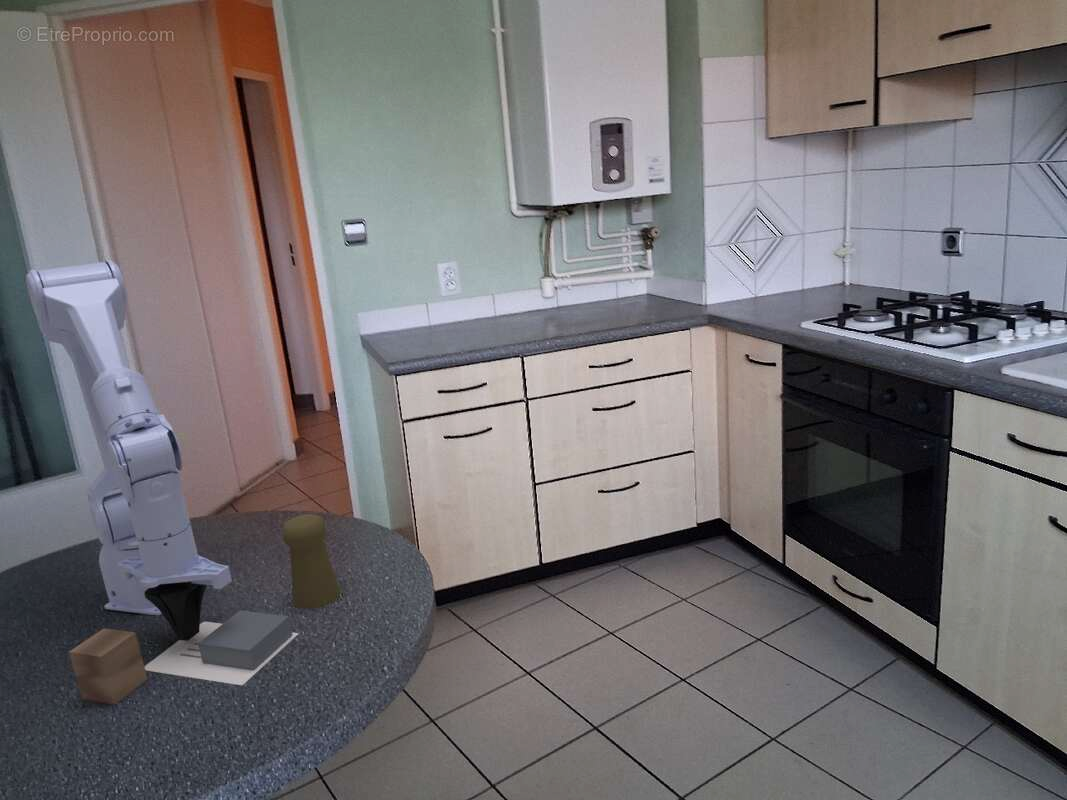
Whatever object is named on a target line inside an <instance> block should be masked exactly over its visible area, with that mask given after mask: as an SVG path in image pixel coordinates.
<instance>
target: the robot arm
mask: <svg viewBox="0 0 1067 800" xmlns="http://www.w3.org/2000/svg"><path fill="white" fill-rule="evenodd" d="M25 280H26V287H27V292H28V295H29V300H30V302H31V305H32V309H33V311H34V314H35V317H36V320H37V324H38V327H39V330H40V333H41V334H43V335H44V336H43V337H44V339H45V341H47V342H52V343H55V344H60V345H62V346H63V348H64V349H65V351H66V353H67V354H68V356H69V357H70V359H71V361H72V364H73V367H74V370H75V374H76V377H77V380H78V384H79V387H80V391H81V394H82V397H83V401H84V403H85V408H86V411H87V413H88V417H89V420H90V424H91V427H92V429H93V434H94V437H95V440H96V443H97V446H98V450H99V453H100V456H101V459H102V462H103V467H104V469H103V471H101V473H100V474H99V475H98V476H97V477H96V478H95V479H94V481H92V482H91V484H90V486H89V487H88V492H87V499H88V503H89V507H90V508H89V509H90V514H91V519H92V522H93V525H94V529H95V531H96V534H97V537H98V539H99V541H100V543H101V544H102V547H101V548H100V551H99V555H98V557H99V558H98V564H99V568H100V572H101V576H102V579H103V583H104V586H105V591H106V593H107V598H108V601H109V602H107V603H106V604H105V605H104V609H105V610H111V611H119V612H124V613H125V612H127V613H134V614H141V615H142V614H144V615H149V616H150V615H151V616H152V615H153V616H160V615H163V617H164V619H165V620H166V621H167V623H168V624H169V626H170V628H171V629H172V631H173V633H174V635H175V636H176V638H177V639H178V641H179V640H184V641H188V640H190V639H191V638H192V637H194V636H195V635H196V634H198V633H199V629H200V624H201V612H202V602H203V598H204V596H205V595H204V594H205V591H206V589H207V586H212V588H213V589H214V590H222V589H223V588H224V587H226V586H227V585H229V584H230V583H231V582H232V581H233V580H232V575H231V571H230V566H229V565H224V564H220V563H217V562H215V561H212V560H210V559H208V558H206V557H203V556H201V555H199V554H198V550H197V546H196V541H195V537H194V534H193V528H192V525H191V520H190V515H189V512H188V508H187V503H186V498H185V495H184V490H183V484H182V480H181V478H180V473H179V472H178V471H182V470H183V456H182V450H181V447H180V443H179V440H178V438H177V435H176V433H175V431H174V429H173V427H172V426H171V425H172V424H170V422H169V421H168V420H167V418H166V417H165V415H164V414H160V413H159V409H158V408H157V405H156V403H155V400H154V397H153V395H152V392H151V390H150V387H149V384H148V383H147V380H146V378H145V376H144V375H143V374H142V373H140V372H138V371H135V370H133V369H130V366H129V363H128V360H127V359H128V358H127V355H126V352H125V348H124V344H123V342H122V338H121V333H120V330H122V329H123V328H124V327H125V320H126V316H127V304H128V294H127V289H126V284H125V280H124V277H123V275H122V272H121V269H120V267H119V266H118V264H117V263H115V262H114V261H112V260H111V259H106V260H105V261H102V262H101V261H100V262H93V263H87V264H86V263H85V264H78V265H77V264H76V265H71V266H63V267H56V268H49V269H48V268H47V269H39V270H36V269H30V270H29V271H28V272H27V274H26V275H25ZM176 469H177V470H178V471H176ZM118 489H120V491H121V492H117V493H113V494H109V495H107V493H110V492H111V491H115V490H118Z"/></svg>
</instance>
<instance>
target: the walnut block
mask: <svg viewBox="0 0 1067 800" xmlns="http://www.w3.org/2000/svg"><path fill="white" fill-rule="evenodd" d="M68 654H69V658H70V662H71V664H72V668H73V671H74V674H75V679H76V682H77V685H78V687H79V691H80V695H81V698H82V700H86V701H90V702H96V703H102V704H108V705H114V706H115V705H117V704H118V703H119V702H120V701H122V699H124V698H126V697H127V696H128V695H129V694H131V692H133V691H134V690H135V689H137V688H138V687H139V686H141V685H142V684H143V683H145V682H146V681H147V680H148V676H147V671H146V670H145V662H144V660H143V656H142V652H141V648H140V644H139V641H138V638H137V633H136V632H133V631H127V630H125V631H124V630H118V629H111V628H102V629H101V630H99V631H98V632H96V633H95V634H94V635H92V636H91V637H89V638H87V639H86V640H84V641H83V642H81V643H80V644H79V645H77V646H76V647H74V648H72V649H70V650H69V651H68Z"/></svg>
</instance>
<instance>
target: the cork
mask: <svg viewBox="0 0 1067 800" xmlns="http://www.w3.org/2000/svg"><path fill="white" fill-rule="evenodd" d="M326 532H327V528H326V524H325V521H324V519H323V518H321V517H320V516H319V515H316V514H311V513H310V514H308V513H307V514H301V515H298V516H295V517H294V516H293V517H292V518H290V519H289V520H287V521H286V522H285V523H284V525H283V527H282V539H283V541H284V544H286V546H288V548H289V557H290V558H289V559H290V575H291V576H290V577H291V594H292V605H293V606H294V607H296V608H298V609H302V610H312V609H317V608H321V607H322V608H323V607H325V606H328V605H330V604H331V603H333V602H334V601H336V600H337V599H338V598H339V597H340V596H341V588H340V585H339V582H338V579H337V576H336V574H335V570H334V567H333V565H332V562H331V559H330V556H329V553H328V550H327V547H326V545H325V544H326V543H325V541H324V539H326V538H325V537H326V534H327V533H326Z"/></svg>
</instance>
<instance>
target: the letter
mask: <svg viewBox="0 0 1067 800" xmlns="http://www.w3.org/2000/svg"><path fill="white" fill-rule="evenodd" d="M222 624H223V623H219V622H211V621H203V622H200V629H199V633H198V634H196V635H195V636H194V637H192V638H191V639H190V640H188V641H184V640H179V639H178V640H177V641H176V642H175V643H173V644H172V645H171V646H170V647H168V648H166V649H165V651H163V652H161V653H160V654H159V655H158V656H156V657H155V658H154V659H152V660H151V661H150V662H148V663H147V664H146V665H144V667H145V671H146V672H153V673H159V674H167V675H173V676H178V677H184V678H190V679H191V678H192V679H199V680H205V681H211V682H216V683H217V682H218V683H224V684H230V685H237V686H244V684H246V683H247V682H248V681H249V680H250V679H251V678H252V677H254V676H255V675H256V673H258V672H259V671H260V670H261V669H262V668H263V667H264V666H265V665H267V664H268V663H269V662H270V661H271V660H272V659H273V658H274V657H275V656H276V655H277V654H279V653H280V652H281V651H282V650H283V649H284V648H285V647H286V646H287V645H289V643H290V642H292V640H294V639H295V638H296V637H297V636H298V635H299V634H300V633H299V632H293V631H292V634H293V635H292V636H291V637H290V638H289V639H288V640H287V641H286V642H285V643H283V644H282V645H281V646H280V647H279V648H278V649H277V650H276V651H275V652H274V653H273V654H271V655H270V656H269V657H268V658H267V659H266V660H265V661H264V662H263V663H262V664H260V665H259V666H258V667H257V668H256V669H255V670H254V671H253V670H246V669H240V668H233V667H226V666H219V665H212V664H205V663H203V662H202V658H201V654H200V650H199V646H198V643H199V642H201V641H202V640H203V639H204V638H206V637H207V636H208V635H209V634H211V633H212V632H213V631H214V630H216V629H217V628H218V627H220V626H221V625H222Z"/></svg>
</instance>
